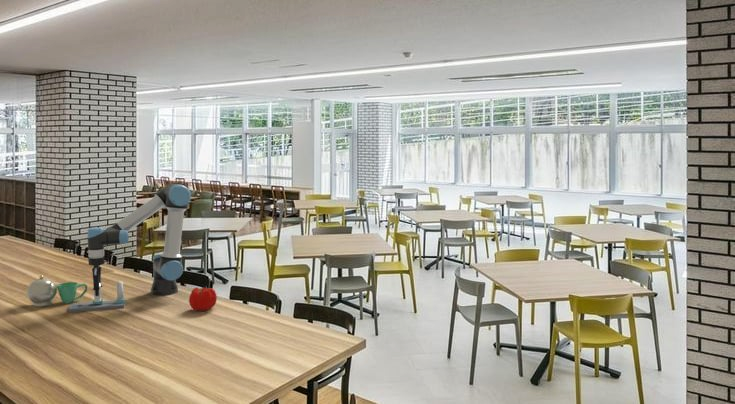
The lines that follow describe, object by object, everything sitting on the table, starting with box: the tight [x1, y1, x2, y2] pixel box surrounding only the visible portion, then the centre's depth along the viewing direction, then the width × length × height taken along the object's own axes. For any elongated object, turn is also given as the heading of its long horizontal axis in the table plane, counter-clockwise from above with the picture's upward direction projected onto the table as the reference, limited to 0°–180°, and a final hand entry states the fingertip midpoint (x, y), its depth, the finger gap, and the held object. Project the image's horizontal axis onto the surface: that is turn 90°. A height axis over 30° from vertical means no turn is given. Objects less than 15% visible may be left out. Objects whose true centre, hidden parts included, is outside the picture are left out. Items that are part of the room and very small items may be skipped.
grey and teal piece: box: [67, 281, 126, 313], centre depth 282 cm, size 26×12×12 cm, turn 111°
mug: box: [56, 281, 88, 304], centre depth 292 cm, size 15×10×10 cm
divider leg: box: [92, 283, 104, 304], centre depth 282 cm, size 4×3×11 cm
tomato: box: [188, 287, 218, 312], centre depth 279 cm, size 13×14×12 cm
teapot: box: [26, 274, 58, 308], centre depth 284 cm, size 18×14×16 cm
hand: (97, 300), depth 282 cm, fingers closed on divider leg, 3 cm apart
